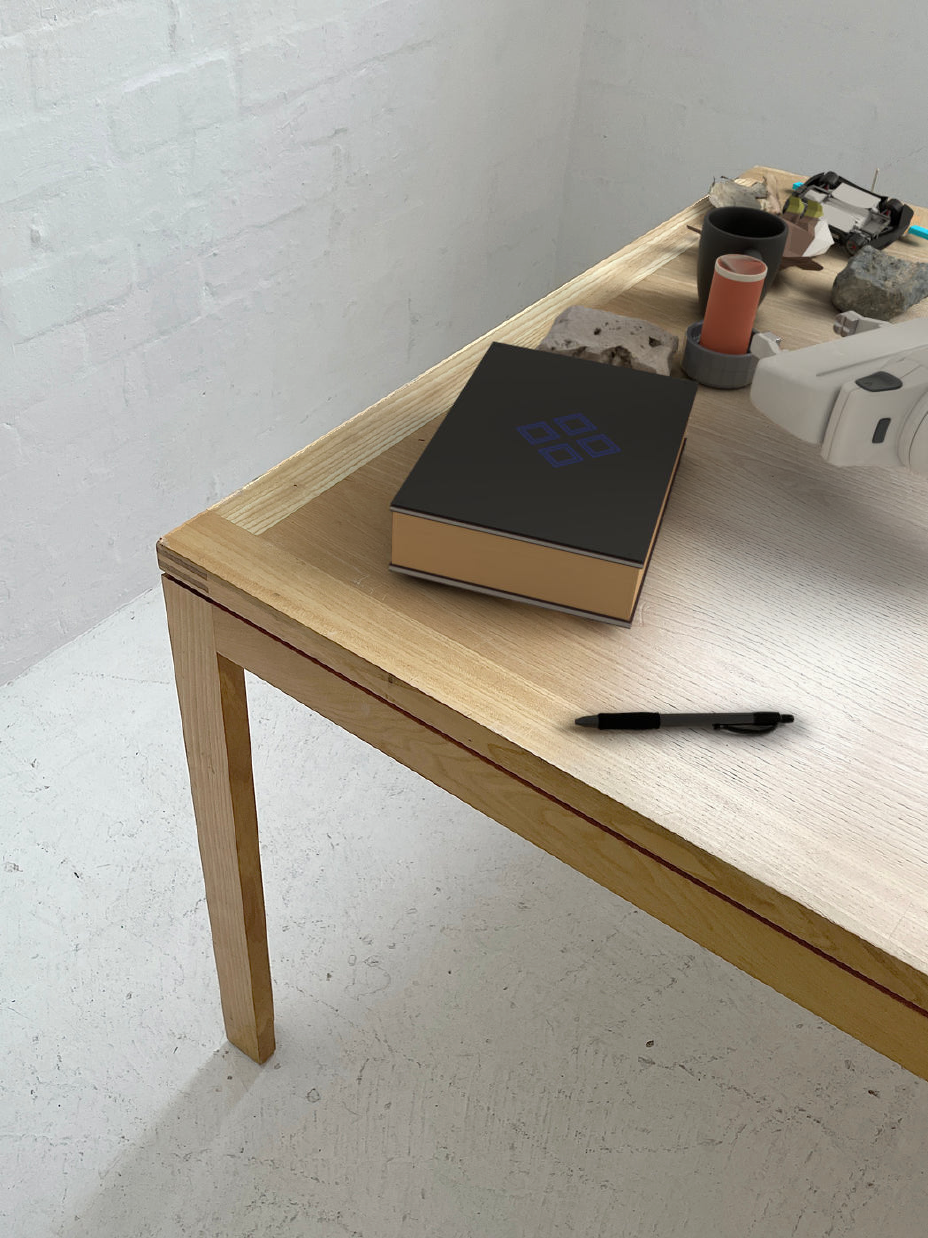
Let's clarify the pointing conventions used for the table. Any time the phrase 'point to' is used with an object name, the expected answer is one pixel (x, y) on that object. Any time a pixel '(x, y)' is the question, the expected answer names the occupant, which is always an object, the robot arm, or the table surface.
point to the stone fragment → (747, 195)
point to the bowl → (716, 362)
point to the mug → (739, 244)
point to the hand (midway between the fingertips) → (800, 329)
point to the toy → (802, 235)
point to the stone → (611, 340)
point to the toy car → (854, 212)
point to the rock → (879, 285)
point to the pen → (688, 721)
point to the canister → (732, 304)
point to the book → (546, 483)
